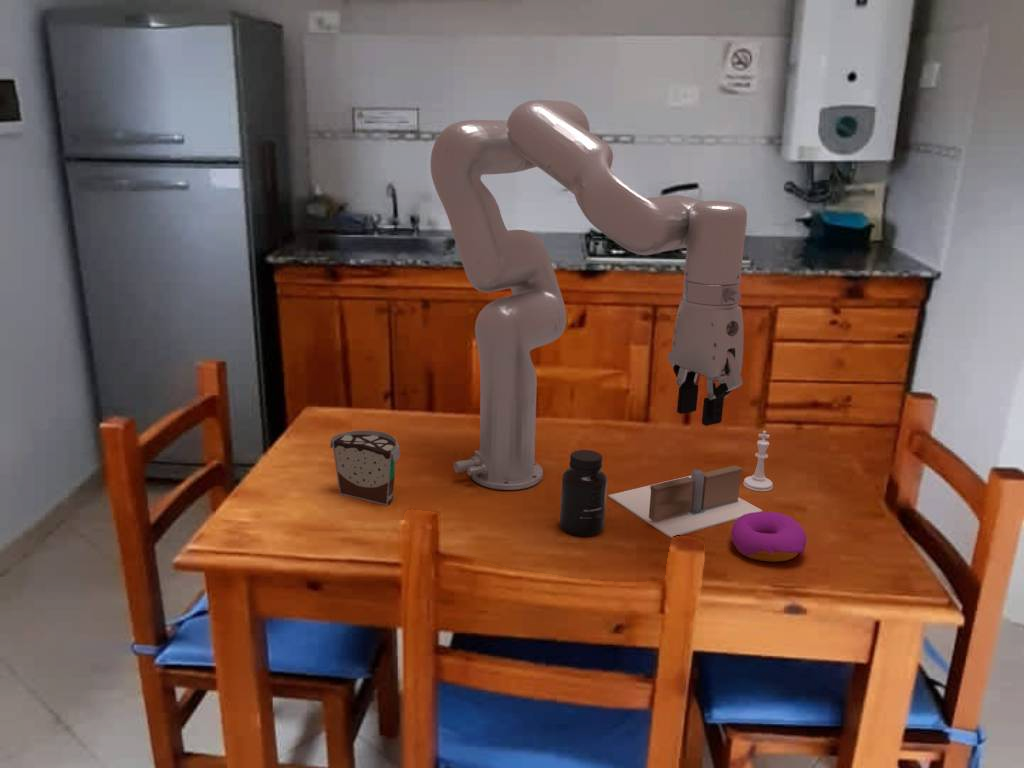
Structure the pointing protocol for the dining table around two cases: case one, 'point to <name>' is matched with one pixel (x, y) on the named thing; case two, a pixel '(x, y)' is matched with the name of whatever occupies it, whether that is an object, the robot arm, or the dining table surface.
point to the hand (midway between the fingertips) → (698, 416)
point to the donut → (768, 536)
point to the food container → (366, 464)
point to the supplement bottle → (583, 494)
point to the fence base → (683, 519)
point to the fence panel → (671, 498)
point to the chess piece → (759, 468)
